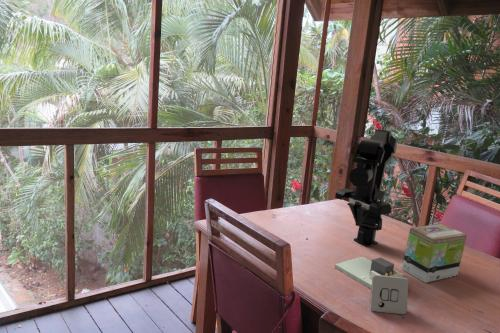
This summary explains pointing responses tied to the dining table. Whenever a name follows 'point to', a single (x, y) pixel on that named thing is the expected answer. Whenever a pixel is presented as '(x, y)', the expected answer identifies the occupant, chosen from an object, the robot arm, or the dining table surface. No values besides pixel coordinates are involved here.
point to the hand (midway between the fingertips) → (358, 225)
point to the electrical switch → (389, 294)
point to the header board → (362, 270)
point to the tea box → (433, 252)
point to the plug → (381, 266)
